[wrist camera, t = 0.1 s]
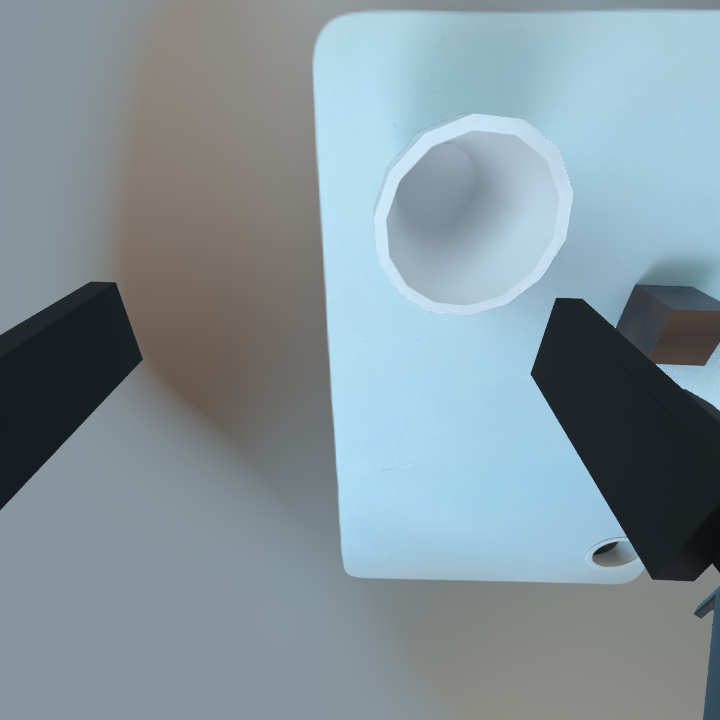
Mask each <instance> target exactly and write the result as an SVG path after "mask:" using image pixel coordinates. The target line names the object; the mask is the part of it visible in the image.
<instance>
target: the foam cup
mask: <svg viewBox="0 0 720 720" xmlns="http://www.w3.org/2000/svg"><path fill="white" fill-rule="evenodd" d="M573 194H574V193H573V190H572V186H571V183H570V180H569V177H568V174H567V171H566V168H565V165H564V162H563V159H562V155H561V152H560V149H559V148H558V147H556V146H555V145H554V144H553V143H552V142H550V141H549V140H548V139H547V138H546V137H544V136H543V135H542V134H541V133H540V132H538V131H537V130H536V129H535V128H534V127H532V126H531V125H530V124H529V123H527V122H526V121H525V120H524V119H518V118H509V117H501V116H492V115H484V114H475V113H462V114H460V115H458V116H455V117H453V118H450V119H448V120H446V121H443V122H441V123H438V124H436V125H434V126H431V127H429V128H426V129H424V130H421V131H419V132H418V133H417V135H416V136H415V137H414V138H413V139H412V140H411V141H410V142H409V143H408V144H407V146H406V147H405V148H404V149H403V150H402V151H401V152H400V153H399V154H398V156H397V157H396V158H395V159H394V160H393V161H392V162H391V163H390V164H389V165H388V167H387V170H386V173H385V176H384V179H383V182H382V185H381V188H380V191H379V194H378V197H377V200H376V203H375V206H374V227H375V237H376V246H377V256H378V262H379V263H380V265H381V266H382V268H383V269H384V271H385V273H386V274H387V276H388V277H389V279H390V280H391V282H392V284H393V285H394V287H395V288H396V290H397V292H398V293H399V294H401V295H402V296H404V297H406V298H407V299H409V300H411V301H413V302H414V303H416V304H418V305H419V306H421V307H423V308H424V309H426V310H428V311H429V312H435V313H445V314H454V315H464V316H469V315H472V314H476V313H479V312H482V311H486V310H489V309H493V308H496V307H499V306H503V305H506V304H508V303H509V302H510V301H512V300H513V299H514V298H516V297H517V296H518V295H520V294H521V293H522V292H524V291H525V290H526V289H528V288H529V287H530V286H532V285H533V284H534V283H535V282H537V281H538V280H539V279H541V278H542V276H543V275H544V273H545V271H546V270H547V268H548V267H549V265H550V264H551V262H552V260H553V259H554V257H555V256H556V254H557V253H558V251H559V249H560V248H561V246H562V245H563V243H564V241H565V240H566V236H567V230H568V224H569V218H570V212H571V206H572V200H573Z"/></svg>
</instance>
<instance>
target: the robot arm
mask: <svg viewBox="0 0 720 720" xmlns="http://www.w3.org/2000/svg"><path fill="white" fill-rule="evenodd" d="M142 360H143V358H142V355H141V353H140V350H139V347H138V344H137V341H136V339H135V336H134V333H133V330H132V327H131V325H130V321H129V319H128V316H127V313H126V310H125V307H124V305H123V302H122V299H121V296H120V293H119V290H118V288H117V285H116V283H115V282H114V283H113V282H90V283H88V284H86V285H84V286H83V287H81V288H79V289H77V290H76V291H74V292H72V293H71V294H69V295H67V296H66V297H64V298H62V299H61V300H59V301H57V302H55V303H54V304H52V305H50V306H49V307H47V308H45V309H44V310H42V311H40V312H38V313H37V314H35V315H33V316H32V317H30V318H29V319H27V320H25V321H23V322H22V323H20V324H18V325H17V326H15V327H13V328H11V329H10V330H8V331H6V332H5V333H3V334H1V335H0V510H1V509H2V508H3V507H4V506H5V505H6V504H7V503H8V501H9V500H10V499H11V498H12V497H13V496H14V495H15V494H16V493H17V492H18V491H19V490H20V489H21V488H22V487H23V486H24V484H25V483H26V482H27V481H28V480H29V479H30V478H31V477H32V476H33V475H34V474H35V473H36V472H37V471H38V470H39V468H41V466H42V465H43V464H44V463H45V462H46V461H47V460H48V459H49V458H50V457H51V456H52V455H53V454H54V453H55V452H56V451H57V450H58V449H59V447H60V446H61V445H62V444H63V443H64V442H65V441H66V440H67V439H68V438H69V437H70V436H71V435H72V434H73V433H74V432H75V430H77V428H78V427H79V426H80V425H81V424H82V423H83V422H84V421H85V420H86V419H87V418H88V417H89V416H90V415H91V414H92V412H94V410H95V409H96V408H97V407H98V406H99V405H100V404H101V403H102V402H103V401H104V400H105V399H106V398H107V397H108V396H109V395H110V394H111V392H112V391H113V390H114V389H115V388H116V387H117V386H118V385H119V384H120V383H121V382H122V381H123V380H124V379H125V377H126V376H128V374H129V373H130V372H131V371H132V370H133V369H134V368H135V367H136V366H137V365H138V364H139V363H140V362H141V361H142ZM531 376H532V377H533V379H534V381H535V382H536V384H537V386H538V387H539V389H540V391H541V392H542V394H543V396H544V397H545V399H546V401H547V403H548V404H549V406H550V408H551V409H552V411H553V413H554V414H555V416H556V418H557V419H558V421H559V423H560V424H561V426H562V428H563V430H564V431H565V433H566V435H567V436H568V438H569V440H570V441H571V443H572V445H573V446H574V448H575V450H576V451H577V453H578V455H579V456H580V458H581V460H582V462H583V463H584V465H585V467H586V468H587V470H588V472H589V473H590V475H591V477H592V478H593V480H594V482H595V483H596V485H597V487H598V488H599V490H600V492H601V494H602V495H603V497H604V499H605V500H606V502H607V504H608V505H609V507H610V509H611V510H612V512H613V514H614V515H615V517H616V519H617V520H618V522H619V524H620V526H621V527H622V529H623V531H624V532H625V534H626V536H627V537H628V539H629V541H630V542H631V544H632V546H633V547H634V549H635V551H636V552H637V554H638V556H639V558H640V559H641V561H642V563H643V564H644V566H645V568H646V569H647V571H648V573H649V574H650V576H651V578H652V579H654V580H675V581H695V580H696V579H697V578H698V577H699V576H700V575H701V574H702V573H703V572H704V570H706V569H707V568H708V567H709V566H710V565H711V564H712V563H713V565H714V566H715V567H716V569H717V570H718V571H719V573H720V411H719V410H718V409H717V408H715V407H714V406H713V405H712V404H710V403H709V402H707V401H705V400H703V399H702V398H700V397H698V396H696V395H695V394H693V393H691V392H689V391H688V390H686V389H682V388H681V387H680V386H679V385H678V384H676V383H675V382H674V381H673V380H672V379H671V378H670V377H669V376H668V375H666V374H665V373H664V372H663V371H662V370H661V369H660V368H659V367H658V366H656V365H655V364H654V363H653V362H652V361H651V360H650V359H649V358H648V357H646V356H645V355H644V354H643V353H642V352H641V351H640V350H639V349H638V348H636V347H635V346H634V345H633V344H632V343H631V342H630V341H629V340H628V339H626V338H625V337H624V336H623V335H622V334H621V333H620V332H619V331H618V330H616V329H615V328H614V327H613V326H612V325H611V324H610V323H609V322H608V321H606V320H605V319H604V318H603V317H602V316H601V315H600V314H599V313H598V312H596V311H595V310H594V309H593V308H592V307H591V306H590V305H589V304H588V303H586V302H585V301H584V300H583V299H574V298H556V300H555V303H554V306H553V309H552V312H551V315H550V318H549V321H548V324H547V326H546V329H545V332H544V335H543V338H542V341H541V344H540V347H539V350H538V353H537V356H536V359H535V362H534V365H533V368H532V371H531ZM711 610H714V617H713V624H712V626H713V627H712V637H711V647H710V657H709V667H708V677H707V687H706V697H705V706H704V717H703V720H720V587H718V588H717V589H716V590H715V591H714V592H713V593H712V594H711V595H710V596H709V597H708V598H707V599H705V600H704V601H703V602H702V603H701V604H700V605H699V606H698V607H697V609H696V611H695V613H694V614H695V615H696V616H698V617H699V618H702V617H704V616H705V615H706V614H707V613H708V612H709V611H711Z"/></svg>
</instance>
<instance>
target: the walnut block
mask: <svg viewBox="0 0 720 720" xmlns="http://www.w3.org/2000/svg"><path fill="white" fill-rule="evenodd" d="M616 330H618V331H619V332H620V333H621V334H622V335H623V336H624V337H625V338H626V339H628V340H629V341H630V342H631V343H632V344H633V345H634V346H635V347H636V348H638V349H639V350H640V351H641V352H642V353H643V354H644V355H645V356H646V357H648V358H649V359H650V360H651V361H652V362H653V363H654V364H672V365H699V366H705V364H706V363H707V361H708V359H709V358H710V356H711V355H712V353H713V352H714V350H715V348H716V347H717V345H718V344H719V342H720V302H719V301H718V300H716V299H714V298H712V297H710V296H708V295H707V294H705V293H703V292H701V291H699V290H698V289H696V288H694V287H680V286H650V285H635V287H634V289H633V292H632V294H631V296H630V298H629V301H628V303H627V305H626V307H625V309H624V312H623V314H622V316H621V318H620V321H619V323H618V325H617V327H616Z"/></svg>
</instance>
